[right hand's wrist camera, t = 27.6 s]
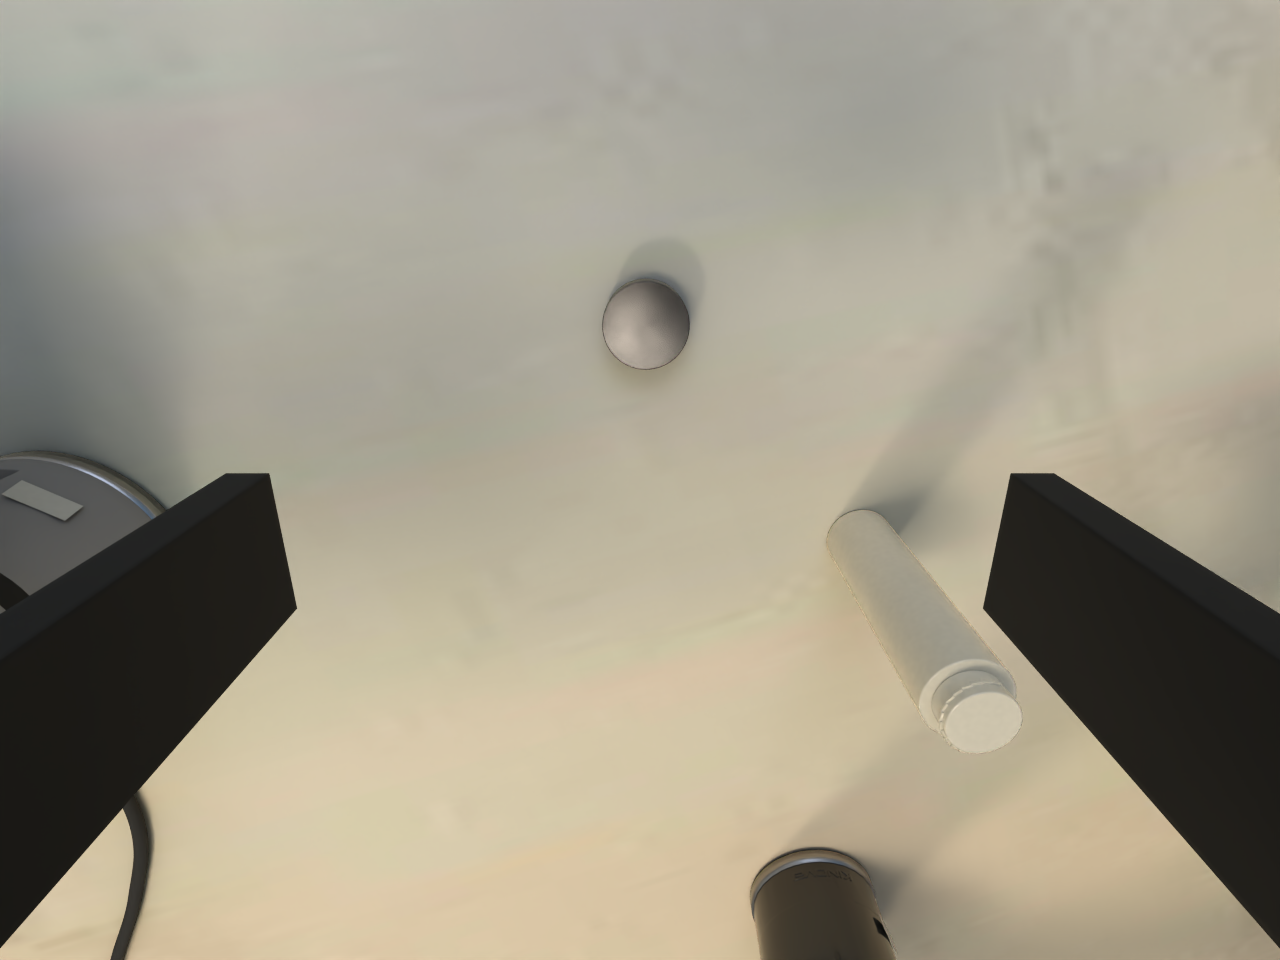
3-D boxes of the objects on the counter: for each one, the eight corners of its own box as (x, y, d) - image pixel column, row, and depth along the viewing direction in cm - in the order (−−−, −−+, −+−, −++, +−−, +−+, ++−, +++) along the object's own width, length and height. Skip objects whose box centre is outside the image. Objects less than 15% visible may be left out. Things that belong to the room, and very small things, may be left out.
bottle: (842, 501, 42) (962, 670, 26) (902, 520, 42) (1055, 696, 27) (816, 557, 43) (915, 749, 28) (874, 575, 44) (1004, 773, 28)
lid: (657, 378, 39) (658, 385, 38) (588, 334, 38) (585, 339, 37) (703, 309, 38) (706, 313, 36) (633, 261, 37) (632, 263, 35)
